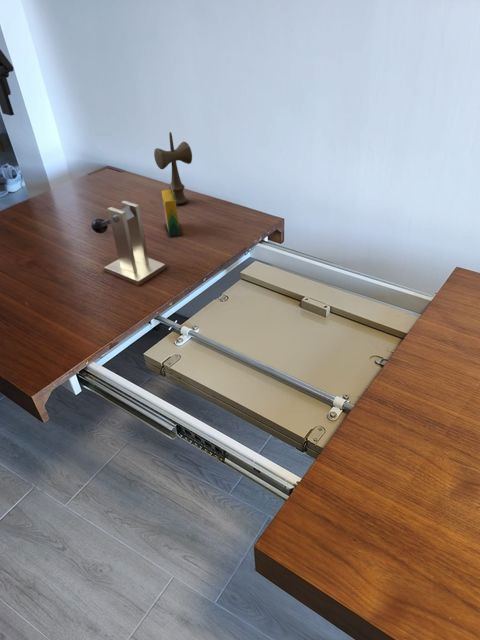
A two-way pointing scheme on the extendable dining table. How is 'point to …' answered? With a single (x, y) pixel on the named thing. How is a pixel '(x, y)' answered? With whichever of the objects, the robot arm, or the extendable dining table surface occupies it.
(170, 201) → the crayon box
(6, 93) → the robot arm
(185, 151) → the kendama
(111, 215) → the switch bracket
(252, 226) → the extendable dining table surface
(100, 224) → the lever
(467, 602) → the extendable dining table surface
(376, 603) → the extendable dining table surface
